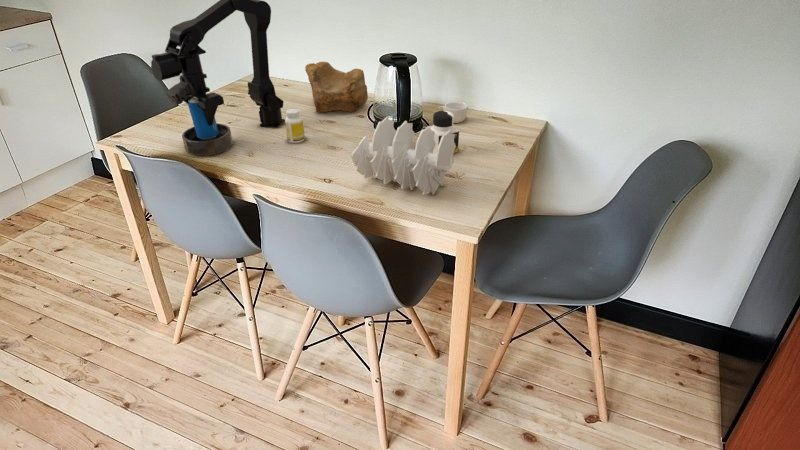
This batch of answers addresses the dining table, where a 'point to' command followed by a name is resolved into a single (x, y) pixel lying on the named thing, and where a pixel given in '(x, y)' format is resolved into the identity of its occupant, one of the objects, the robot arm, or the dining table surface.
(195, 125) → the beverage can
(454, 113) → the teacup
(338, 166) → the dining table surface
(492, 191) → the dining table surface
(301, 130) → the supplement bottle
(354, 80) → the rough brown rock
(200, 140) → the dark grey bowl
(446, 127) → the medicine bottle
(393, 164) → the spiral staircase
